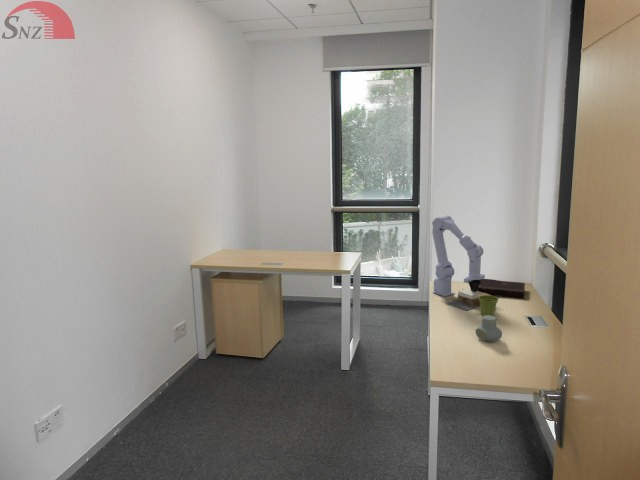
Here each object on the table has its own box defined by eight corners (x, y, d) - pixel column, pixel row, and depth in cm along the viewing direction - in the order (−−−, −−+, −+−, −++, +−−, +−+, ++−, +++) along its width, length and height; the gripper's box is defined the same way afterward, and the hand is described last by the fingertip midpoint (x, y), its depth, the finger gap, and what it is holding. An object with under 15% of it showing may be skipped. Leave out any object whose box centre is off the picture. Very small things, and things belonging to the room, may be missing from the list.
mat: (445, 303, 252) (445, 303, 252) (455, 300, 256) (455, 300, 256) (466, 310, 241) (466, 310, 241) (476, 307, 245) (476, 307, 245)
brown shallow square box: (457, 300, 256) (457, 293, 255) (472, 296, 262) (472, 289, 261) (475, 306, 246) (476, 299, 245) (490, 302, 252) (491, 294, 252)
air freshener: (472, 336, 209) (473, 314, 207) (487, 333, 212) (488, 312, 210) (489, 345, 199) (490, 323, 197) (505, 342, 202) (506, 320, 200)
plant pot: (500, 318, 230) (501, 301, 228) (480, 318, 230) (481, 301, 228) (493, 311, 239) (494, 295, 237) (475, 311, 239) (475, 295, 237)
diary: (524, 300, 256) (524, 291, 255) (475, 295, 266) (475, 287, 265) (524, 289, 273) (524, 281, 272) (478, 285, 283) (479, 277, 282)
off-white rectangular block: (458, 295, 253) (458, 291, 253) (465, 292, 256) (465, 289, 256) (471, 299, 246) (471, 295, 245) (479, 297, 249) (479, 293, 248)
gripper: (471, 272, 243) (471, 297, 246) (489, 267, 251) (488, 292, 254) (460, 269, 249) (460, 294, 251) (478, 265, 257) (478, 289, 259)
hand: (473, 293), depth 253 cm, fingers closed
